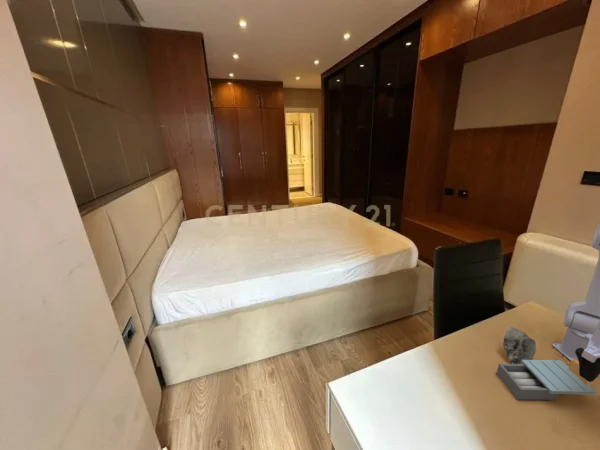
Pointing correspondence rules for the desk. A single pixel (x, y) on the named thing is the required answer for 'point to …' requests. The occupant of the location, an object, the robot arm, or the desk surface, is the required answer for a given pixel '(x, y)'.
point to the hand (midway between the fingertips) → (595, 374)
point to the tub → (523, 383)
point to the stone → (518, 345)
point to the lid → (559, 376)
